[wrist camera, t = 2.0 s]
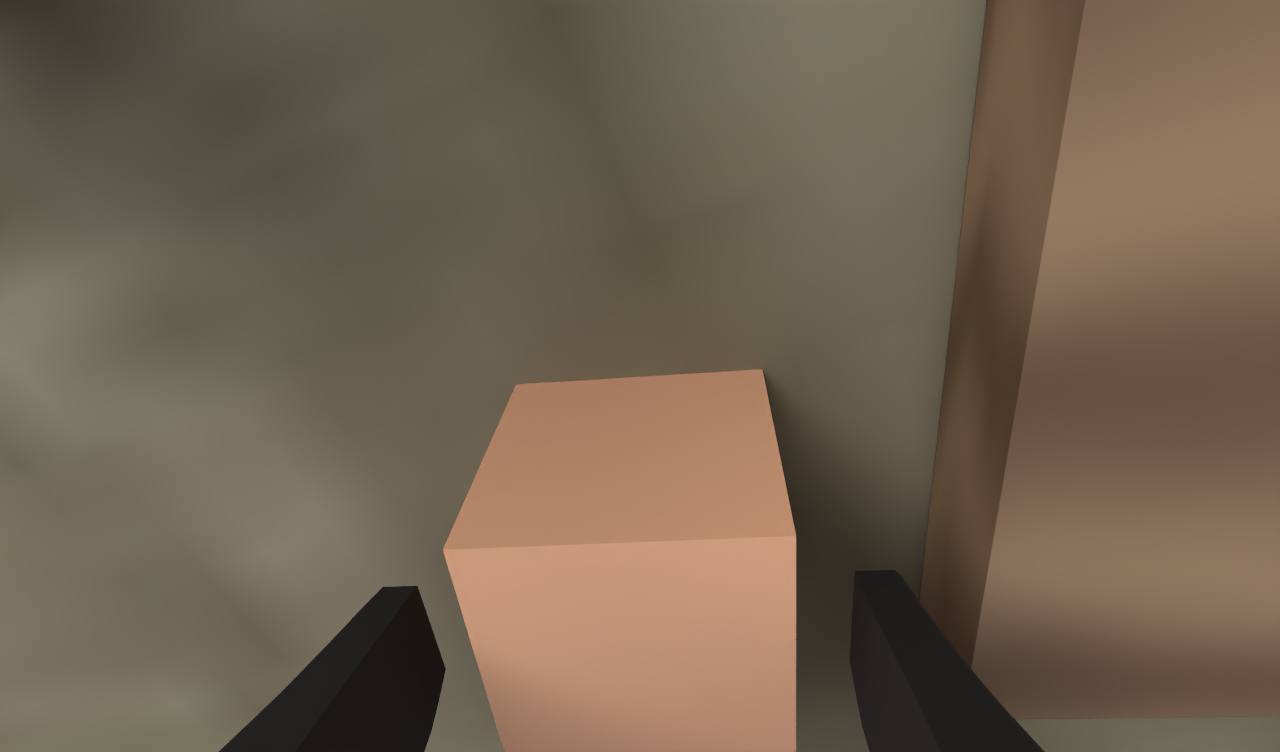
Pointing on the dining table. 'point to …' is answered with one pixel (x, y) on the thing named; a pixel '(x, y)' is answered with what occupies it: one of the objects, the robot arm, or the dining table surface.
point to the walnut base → (1116, 365)
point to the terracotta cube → (633, 568)
